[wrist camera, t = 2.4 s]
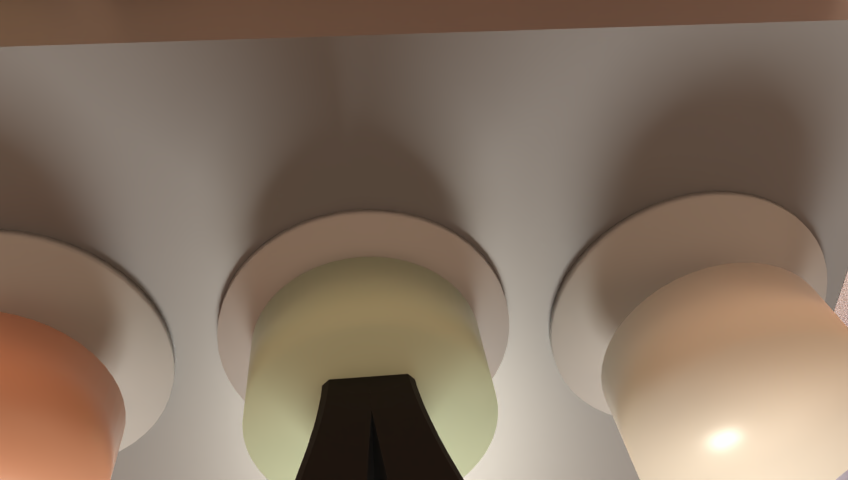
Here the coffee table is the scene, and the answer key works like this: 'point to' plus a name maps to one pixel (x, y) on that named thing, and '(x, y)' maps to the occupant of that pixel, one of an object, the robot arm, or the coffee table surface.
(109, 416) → the terracotta button
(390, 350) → the sage button
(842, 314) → the coffee table surface
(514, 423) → the console
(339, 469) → the robot arm
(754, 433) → the cream button
